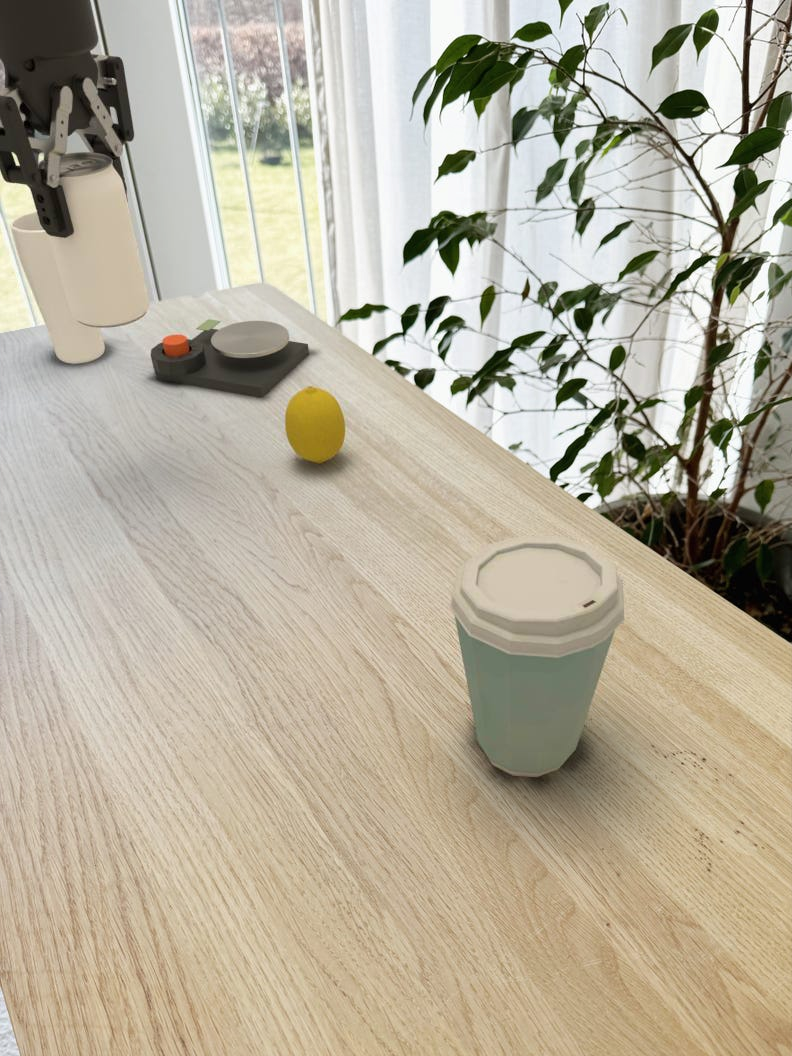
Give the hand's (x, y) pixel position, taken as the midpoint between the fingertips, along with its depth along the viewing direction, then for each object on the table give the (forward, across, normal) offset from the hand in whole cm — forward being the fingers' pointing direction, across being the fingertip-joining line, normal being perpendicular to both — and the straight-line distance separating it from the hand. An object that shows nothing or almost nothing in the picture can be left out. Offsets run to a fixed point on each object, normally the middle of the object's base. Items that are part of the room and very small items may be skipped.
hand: (88, 219), depth 80 cm
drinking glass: (+24, -18, -22) cm, 37 cm away
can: (+8, 0, 0) cm, 8 cm away
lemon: (+23, -7, +14) cm, 28 cm away
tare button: (+21, -18, -8) cm, 29 cm away
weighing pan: (+21, -22, -3) cm, 31 cm away
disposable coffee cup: (+23, +21, +45) cm, 55 cm away
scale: (+23, -22, -4) cm, 32 cm away
